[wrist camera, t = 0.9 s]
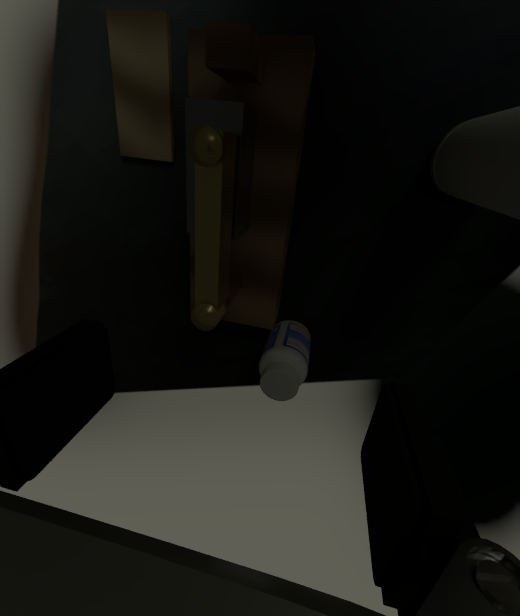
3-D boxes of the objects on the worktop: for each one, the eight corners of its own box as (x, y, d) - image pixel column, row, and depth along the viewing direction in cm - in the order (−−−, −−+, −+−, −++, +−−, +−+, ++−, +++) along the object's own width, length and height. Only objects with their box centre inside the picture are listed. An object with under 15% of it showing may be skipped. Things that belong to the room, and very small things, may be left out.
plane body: (206, 45, 28) (155, 2, 20) (315, 52, 26) (307, 8, 19) (203, 299, 40) (170, 335, 32) (278, 314, 38) (263, 355, 31)
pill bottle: (276, 357, 41) (260, 408, 33) (265, 322, 39) (245, 368, 31) (316, 352, 40) (310, 405, 31) (306, 315, 38) (297, 362, 29)
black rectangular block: (207, 105, 26) (185, 97, 23) (257, 110, 26) (244, 102, 22) (205, 222, 31) (186, 232, 27) (248, 229, 30) (235, 240, 26)
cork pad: (109, 11, 28) (105, 9, 28) (169, 14, 27) (166, 11, 27) (124, 155, 34) (120, 155, 33) (174, 161, 33) (171, 161, 33)
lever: (242, 294, 34) (215, 335, 26) (221, 291, 34) (189, 329, 26) (254, 134, 26) (222, 126, 19) (228, 131, 27) (186, 122, 19)
